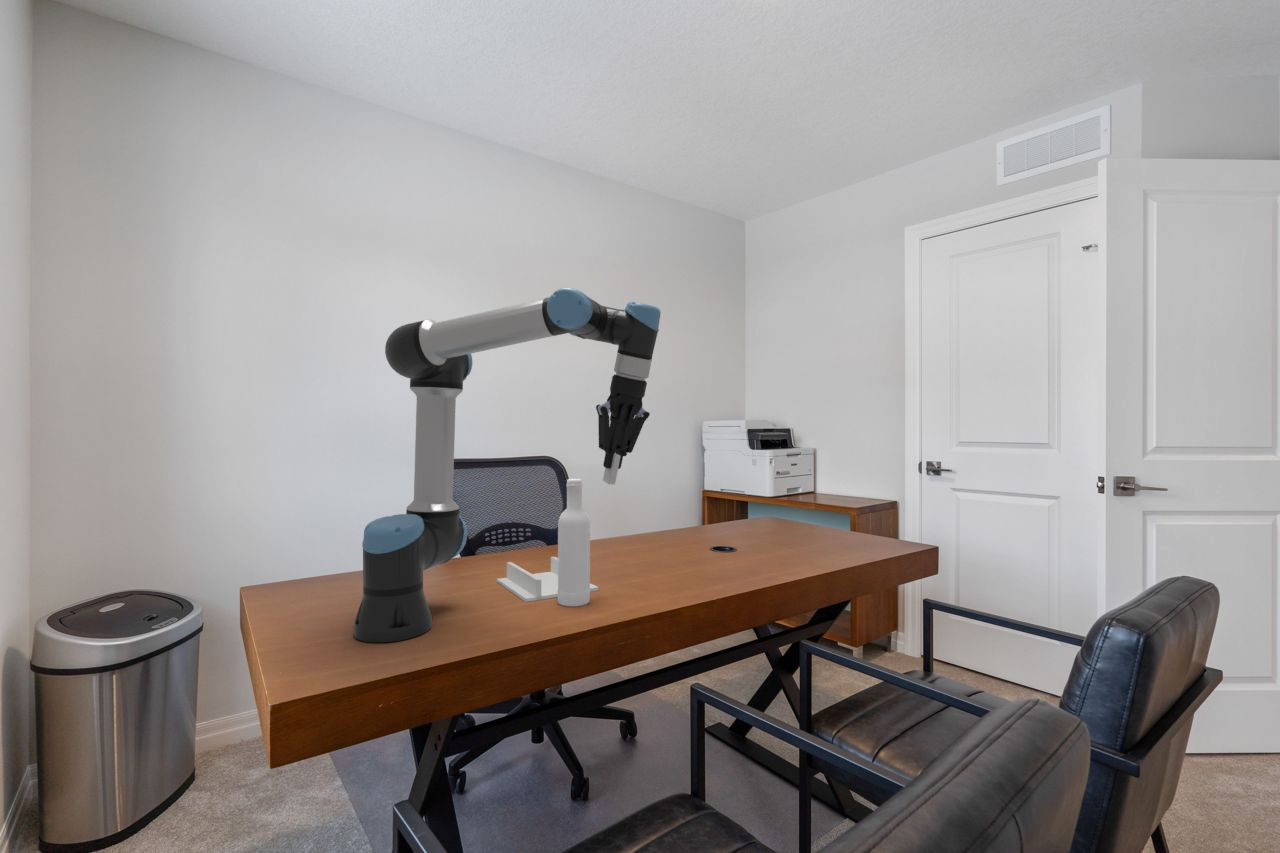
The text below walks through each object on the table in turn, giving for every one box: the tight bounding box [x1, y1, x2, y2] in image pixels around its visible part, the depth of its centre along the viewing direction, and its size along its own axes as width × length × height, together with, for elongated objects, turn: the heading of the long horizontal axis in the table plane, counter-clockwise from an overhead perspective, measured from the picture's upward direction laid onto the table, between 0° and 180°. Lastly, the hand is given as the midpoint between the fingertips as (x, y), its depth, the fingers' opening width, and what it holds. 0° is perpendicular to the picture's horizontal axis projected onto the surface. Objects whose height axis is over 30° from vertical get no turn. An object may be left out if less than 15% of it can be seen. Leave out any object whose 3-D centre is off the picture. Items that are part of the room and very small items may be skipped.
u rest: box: [496, 556, 600, 603], centre depth 159 cm, size 22×20×5 cm
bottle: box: [557, 478, 591, 607], centre depth 145 cm, size 8×8×30 cm
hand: (608, 482), depth 130 cm, fingers closed
